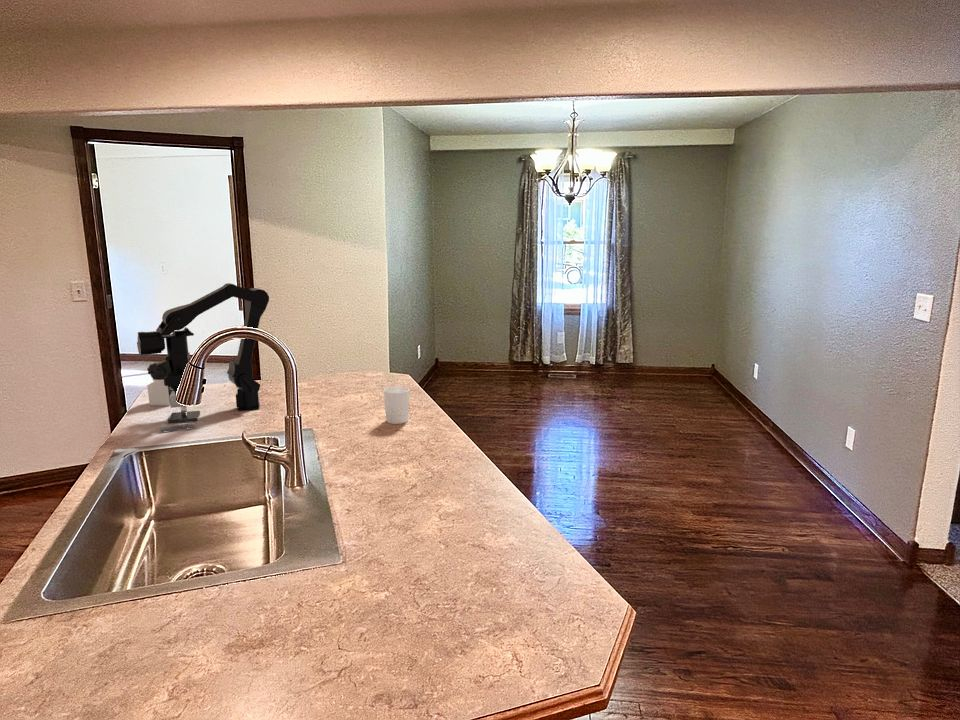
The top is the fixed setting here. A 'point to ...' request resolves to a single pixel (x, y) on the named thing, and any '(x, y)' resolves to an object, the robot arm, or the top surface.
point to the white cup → (396, 404)
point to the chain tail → (177, 427)
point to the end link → (174, 401)
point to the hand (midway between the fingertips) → (183, 400)
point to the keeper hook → (183, 416)
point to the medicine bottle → (159, 391)
